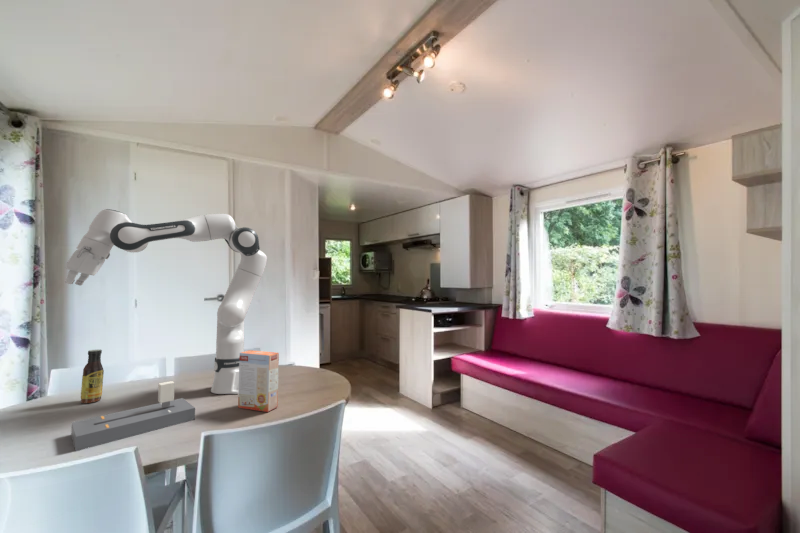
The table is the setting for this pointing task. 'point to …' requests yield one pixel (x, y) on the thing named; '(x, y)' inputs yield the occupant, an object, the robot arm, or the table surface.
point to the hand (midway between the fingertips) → (73, 284)
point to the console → (129, 423)
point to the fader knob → (166, 393)
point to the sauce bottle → (92, 378)
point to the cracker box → (258, 380)
